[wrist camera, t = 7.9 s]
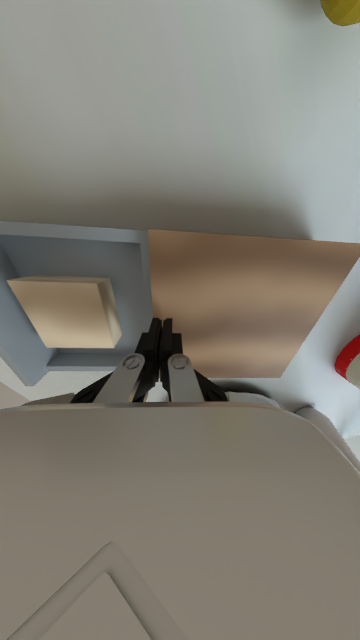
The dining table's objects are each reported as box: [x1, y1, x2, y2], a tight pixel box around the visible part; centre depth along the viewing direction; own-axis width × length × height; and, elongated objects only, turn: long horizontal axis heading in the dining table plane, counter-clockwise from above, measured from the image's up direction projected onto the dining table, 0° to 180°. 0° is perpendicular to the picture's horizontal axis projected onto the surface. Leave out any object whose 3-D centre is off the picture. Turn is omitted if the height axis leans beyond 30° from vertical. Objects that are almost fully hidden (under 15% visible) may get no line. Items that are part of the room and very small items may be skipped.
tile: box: [6, 275, 122, 348], centre depth 13 cm, size 7×7×2 cm
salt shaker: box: [295, 407, 360, 472], centre depth 24 cm, size 6×6×13 cm
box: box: [0, 221, 153, 386], centre depth 13 cm, size 15×14×5 cm
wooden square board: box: [148, 229, 360, 378], centre depth 14 cm, size 15×16×4 cm
